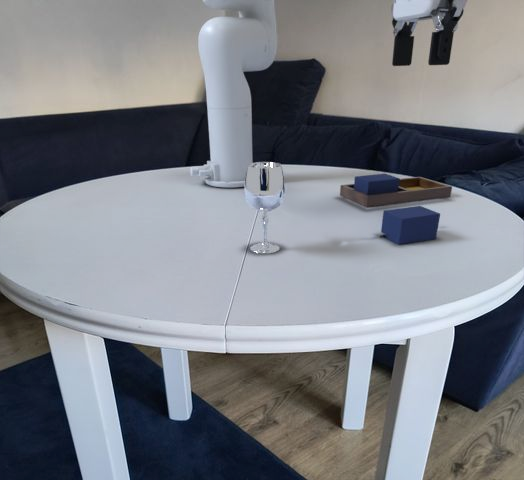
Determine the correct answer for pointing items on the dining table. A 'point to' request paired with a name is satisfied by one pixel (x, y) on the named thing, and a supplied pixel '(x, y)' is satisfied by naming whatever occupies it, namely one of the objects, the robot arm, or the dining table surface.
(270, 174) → the wineglass
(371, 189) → the blue block
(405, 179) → the wooden compartment tray
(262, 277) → the dining table surface
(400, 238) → the blue rectangular block
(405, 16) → the robot arm
